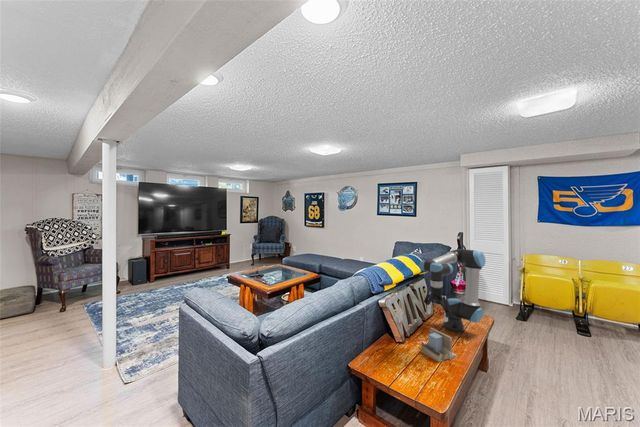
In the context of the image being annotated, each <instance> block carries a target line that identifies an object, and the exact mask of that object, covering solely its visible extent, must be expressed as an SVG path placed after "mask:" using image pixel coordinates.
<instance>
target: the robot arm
mask: <svg viewBox="0 0 640 427" xmlns="http://www.w3.org/2000/svg"><path fill="white" fill-rule="evenodd" d="M452 264H463V265H464V268H465V269H466V270H465V271H466V273H465V295H464V300H463V301H462V299H460V298H452V297H451V298H448V296H447V295H443V294H444V291H443V290H444V288H443V286H444V284H443V283H444V281H443V277H444V276H447V275H448V276H449V275H450V274H452V273H453V271H454V267H453V265H452ZM485 265H486V256H485V254H484V253H483V252H482V251H479V250H475V249H474V250H473V249H464V248H457V249H453V250H449V251H447V252H446V253H445V254H443V255H440V256H438V257H435V258H433V259H432V258H431V259H429V260H421V261H419V265H418V267H419V270H421V271H424V272H429V275H430V279H429V280H430V281H429V282H430V290H427V292H426V293H427V294H426V295H425V298H424V300H423V303H425V305H426V314H427V315H431V313H432V306H431V303H432V302H433V301H437V302H438V303H439V304H440V305H441V307H442V308H443V319H444V320H443V322H442V327H443V328H444V329H446V330H448V331H451V332H455V333H461V332H464V331H465V326H464V323H463V321H462V320H463V319H464V320H466V321H469V322H471V323H475V324H478V323H479V322H481V321H482V319H483V317H484V309H483V308H482V307H481V303H479V290H480V288H479V285H480V271H481V270H483V268H484V267H485Z"/></svg>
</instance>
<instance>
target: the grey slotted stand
mask: <svg viewBox="0 0 640 427" xmlns="http://www.w3.org/2000/svg"><path fill="white" fill-rule="evenodd" d="M432 333H437V334H439V335H441V336H442V346H443V350H441V351H436V350H434V349H432V348H431V347H429V342H428V343H426V344H425V343H424V342H421V352H422V353H423V354H425V355H426V356H427V357H430V358H431V359H432V360H434V361H436V362H437V363H441V362H442V363H443V362H444V361H446V360H453V359H456V358H458V355H457V354H456V353H454V352H453V348H452V347H453V346H452V345H453V342H452V341H453V340H452V339H453V337H451V336H450V335H448V334H446V333H443V332H442V331H439V330H438V329H435V328H433V327H430V328H429V334H432Z"/></svg>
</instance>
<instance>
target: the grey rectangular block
mask: <svg viewBox="0 0 640 427" xmlns="http://www.w3.org/2000/svg"><path fill="white" fill-rule="evenodd" d="M428 343H429V347H431V348H432V349H434V350H436V351H441V350H443V346H442V336H441V335H439V334H437V333H432V334H430V333H429V334H428Z"/></svg>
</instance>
